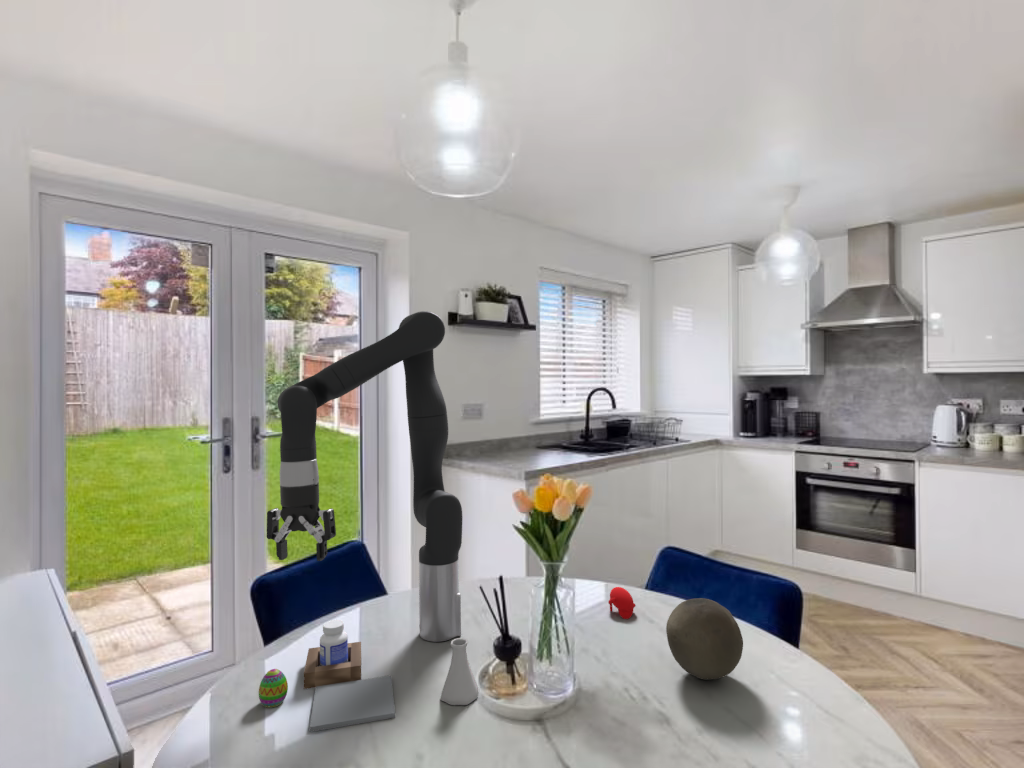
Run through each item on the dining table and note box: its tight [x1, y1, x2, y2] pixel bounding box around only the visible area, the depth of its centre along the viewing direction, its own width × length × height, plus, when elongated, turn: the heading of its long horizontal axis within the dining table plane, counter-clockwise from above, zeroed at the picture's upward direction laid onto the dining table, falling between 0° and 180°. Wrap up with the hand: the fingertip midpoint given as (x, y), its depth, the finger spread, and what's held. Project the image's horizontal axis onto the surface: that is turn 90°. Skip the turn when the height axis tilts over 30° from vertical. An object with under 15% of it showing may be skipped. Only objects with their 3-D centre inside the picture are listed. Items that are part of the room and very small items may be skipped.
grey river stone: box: [665, 597, 744, 681], centre depth 106 cm, size 14×14×15 cm
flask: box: [439, 637, 479, 706], centre depth 101 cm, size 7×7×10 cm
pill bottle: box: [319, 619, 349, 666], centre depth 110 cm, size 5×5×10 cm
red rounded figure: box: [608, 586, 636, 620], centre depth 137 cm, size 8×6×6 cm
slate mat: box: [309, 674, 396, 733], centre depth 99 cm, size 14×13×1 cm
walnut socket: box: [303, 641, 362, 690], centre depth 110 cm, size 11×11×3 cm
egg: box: [258, 668, 289, 709], centre depth 99 cm, size 5×5×6 cm
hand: (302, 559), depth 113 cm, fingers open, 8 cm apart
